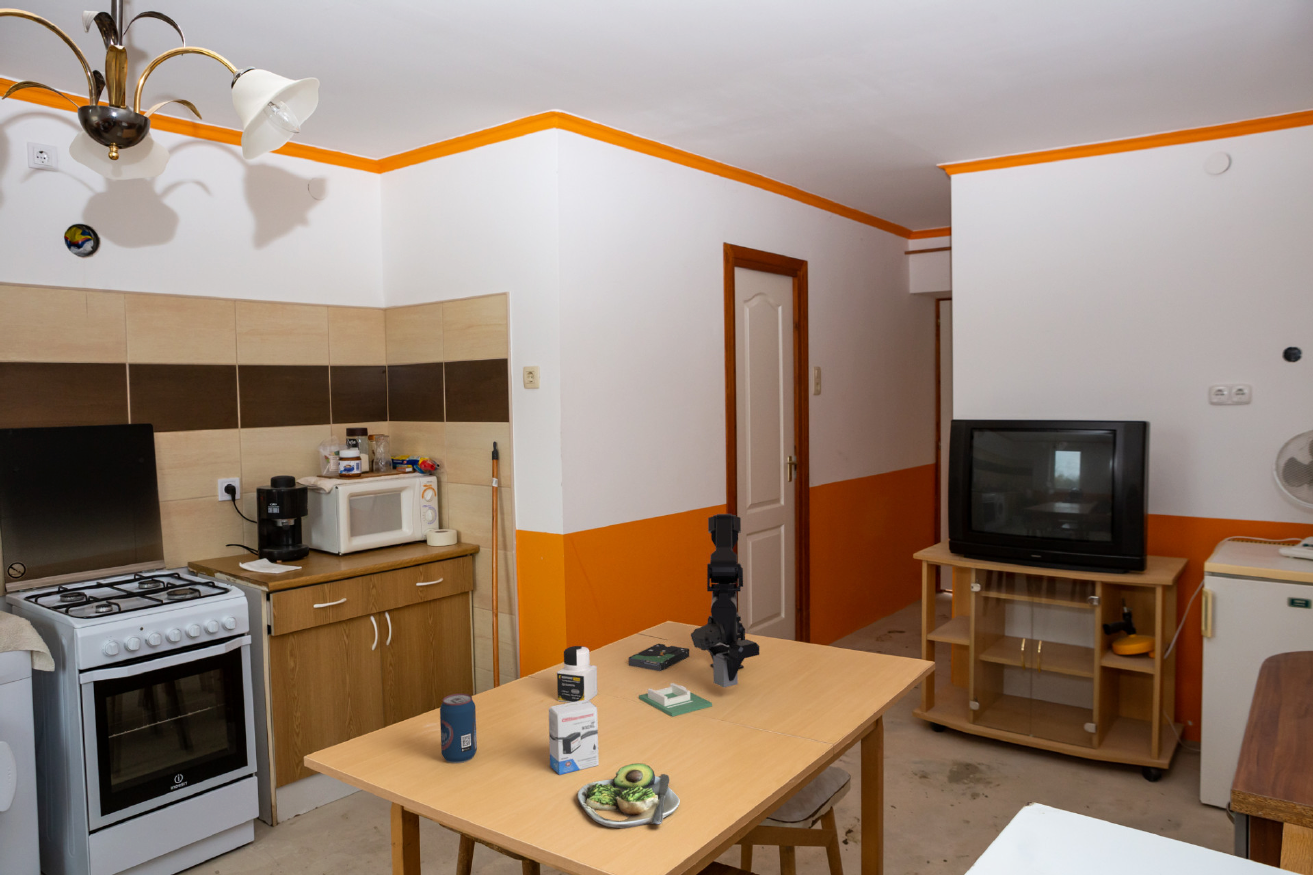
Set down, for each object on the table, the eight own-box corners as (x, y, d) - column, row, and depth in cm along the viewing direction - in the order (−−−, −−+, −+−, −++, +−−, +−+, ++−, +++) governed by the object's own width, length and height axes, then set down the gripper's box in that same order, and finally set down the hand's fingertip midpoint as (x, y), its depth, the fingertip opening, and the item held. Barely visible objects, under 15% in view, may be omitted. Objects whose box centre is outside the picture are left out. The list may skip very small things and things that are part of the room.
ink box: (558, 775, 166) (556, 714, 166) (549, 765, 171) (547, 706, 170) (599, 765, 170) (598, 706, 170) (589, 756, 175) (588, 698, 174)
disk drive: (657, 653, 244) (627, 667, 231) (657, 643, 244) (627, 656, 231) (690, 658, 238) (661, 673, 226) (689, 648, 238) (661, 662, 226)
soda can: (436, 756, 176) (433, 697, 176) (467, 747, 180) (465, 689, 180) (450, 767, 171) (448, 707, 170) (483, 758, 175) (481, 699, 174)
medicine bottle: (557, 701, 206) (555, 650, 205) (571, 691, 213) (570, 642, 212) (584, 704, 203) (583, 653, 203) (597, 694, 210) (596, 645, 209)
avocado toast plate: (703, 823, 148) (703, 797, 147) (602, 845, 141) (601, 817, 141) (661, 777, 166) (661, 753, 165) (569, 794, 159) (569, 770, 159)
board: (639, 698, 207) (638, 686, 206) (677, 688, 213) (677, 677, 212) (672, 716, 195) (671, 704, 195) (712, 706, 201) (711, 694, 201)
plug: (713, 682, 206) (713, 653, 205) (728, 678, 208) (728, 650, 208) (724, 687, 202) (723, 658, 202) (739, 683, 205) (739, 654, 204)
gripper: (673, 609, 208) (674, 674, 208) (721, 626, 192) (722, 696, 193) (711, 602, 214) (712, 665, 214) (760, 618, 198) (761, 686, 199)
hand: (725, 677), depth 205 cm, fingers closed on plug, 4 cm apart
